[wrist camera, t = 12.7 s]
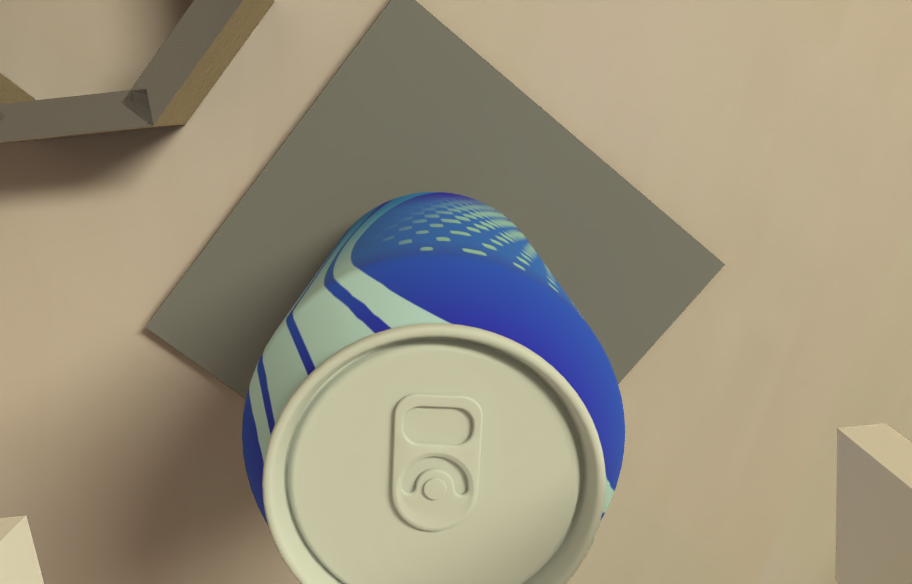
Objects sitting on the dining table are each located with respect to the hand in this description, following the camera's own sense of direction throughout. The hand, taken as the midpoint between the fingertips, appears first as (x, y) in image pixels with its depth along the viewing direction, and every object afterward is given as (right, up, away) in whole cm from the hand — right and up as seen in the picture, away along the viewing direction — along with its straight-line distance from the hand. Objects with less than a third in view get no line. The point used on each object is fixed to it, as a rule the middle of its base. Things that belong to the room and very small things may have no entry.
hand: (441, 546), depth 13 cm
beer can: (-1, +4, +18) cm, 18 cm away
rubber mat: (-1, +4, +18) cm, 19 cm away
